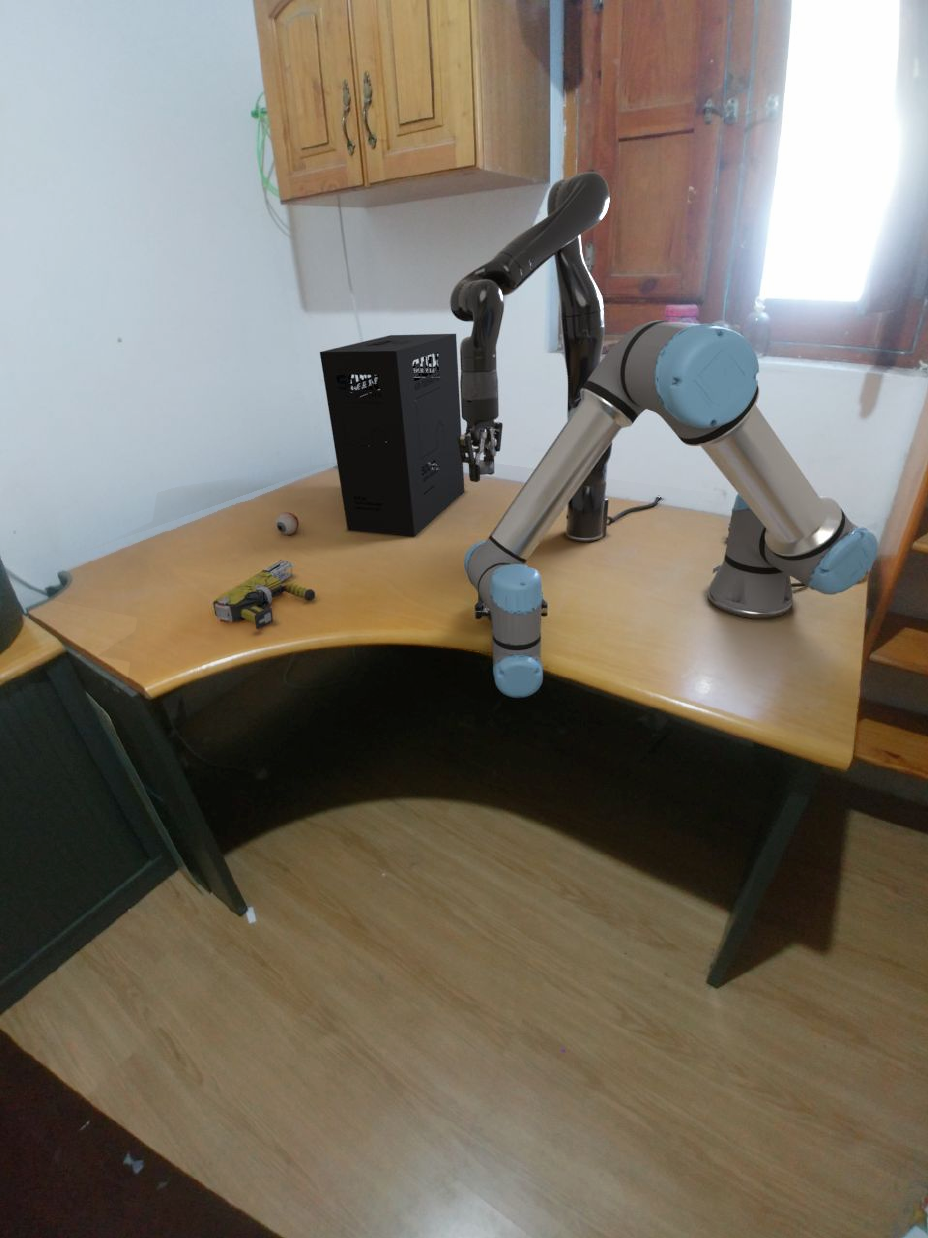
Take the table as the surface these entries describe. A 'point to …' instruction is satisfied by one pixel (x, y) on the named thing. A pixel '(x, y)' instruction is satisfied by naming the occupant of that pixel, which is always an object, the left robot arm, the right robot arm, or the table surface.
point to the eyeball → (287, 523)
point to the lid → (486, 467)
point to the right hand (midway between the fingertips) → (506, 571)
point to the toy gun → (258, 596)
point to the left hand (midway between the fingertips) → (482, 477)
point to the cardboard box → (395, 430)
